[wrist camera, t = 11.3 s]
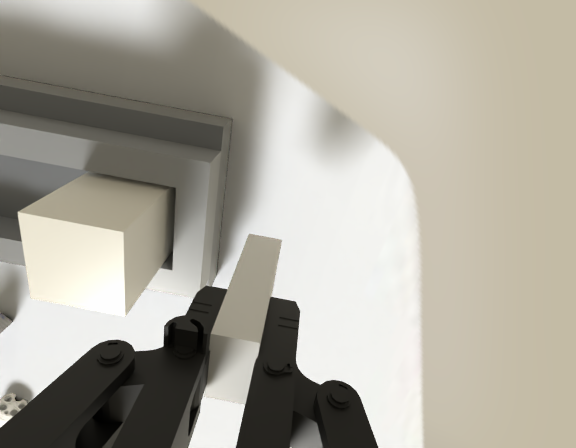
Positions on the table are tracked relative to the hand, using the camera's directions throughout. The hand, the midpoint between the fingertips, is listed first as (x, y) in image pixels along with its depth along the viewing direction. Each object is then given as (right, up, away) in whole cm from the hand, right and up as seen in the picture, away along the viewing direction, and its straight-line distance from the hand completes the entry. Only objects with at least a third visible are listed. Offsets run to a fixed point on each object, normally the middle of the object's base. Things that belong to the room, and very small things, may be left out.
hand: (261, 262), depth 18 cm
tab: (-7, +3, +3) cm, 8 cm away
